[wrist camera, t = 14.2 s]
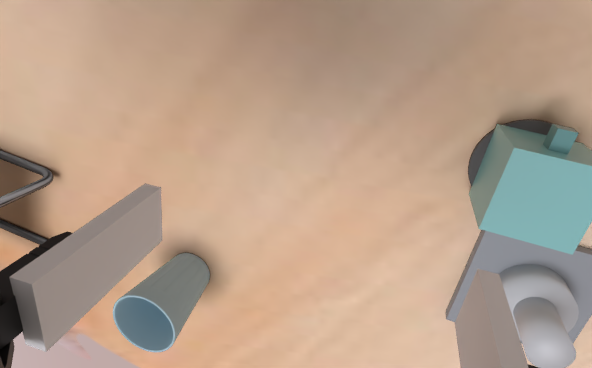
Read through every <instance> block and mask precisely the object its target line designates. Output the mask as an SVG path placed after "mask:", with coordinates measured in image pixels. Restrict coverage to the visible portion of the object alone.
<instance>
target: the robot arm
mask: <svg viewBox="0 0 592 368" xmlns="http://www.w3.org/2000/svg"><path fill="white" fill-rule="evenodd" d="M161 241H162V209H161V187H157V186H153V185H149V184H144V185H142V186H141V187H139V188H138V189H136V190H135V191H133V192H132V193H131V194H129V195H128V196H126V197H125V198H123V199H122V200H120V201H119V202H117V203H116V204H115V205H113V206H112V207H110V208H109V209H107V210H106V211H104V212H103V213H101V214H100V215H99V216H97V217H96V218H94V219H93V220H91V221H90V222H88V223H87V224H86V225H84V226H83V227H81V228H80V229H78V230H77V231H75V232H74V233H71V232H65V233H62V234H60V235H57V236H54V237H52V238H50V239H49V240H47V241H46V242H44V243H42V244H41V245H39V247H36V248H35V249H33V250H32V251H30V252H29V254H26V255H24V256H23V257H21V258H20V259H18V260H17V261H15V262H14V263H12V264H11V265H9V266H8V267H6V268H5V269H3V270H2V271H0V368H11V364H12V358H13V352H14V342H13V339H14V338H15V337H16V336H18V335H19V334H20V333H21V332H22V331H23V335H24V339H25V343H26V345H28V346H32V347H34V348H37V349H39V350H42V351H45V352H47V351H48V350H49V349H50V348H51V347H52V346H53V345H54V344H55V343H56V342H57V341H58V340H59V339H60V338H61V337H62V336H63V335H64V334H65V333H66V332H68V331H69V330H70V329H71V328H72V327H73V326H74V325H75V324H76V323H77V322H78V321H79V320H80V319H81V318H82V317H83V316H84V315H85V314H86V313H87V312H88V311H89V310H90V309H91V308H92V307H93V306H95V305H96V304H97V303H98V302H99V301H100V300H101V299H102V298H103V297H104V296H105V295H106V294H107V293H108V292H109V291H110V290H111V289H112V288H113V287H114V286H115V285H116V284H117V283H118V282H119V281H120V280H122V279H123V278H124V277H125V276H126V275H127V274H128V273H129V272H130V271H131V270H132V269H133V268H134V267H135V266H136V265H137V264H138V263H139V262H140V261H141V260H142V259H143V258H144V257H145V256H146V255H147V254H148V253H150V252H151V251H152V250H153V249H154V248H155V247H156V246H157V245H158V244H159V243H160V242H161ZM455 328H456V335H457V343H458V351H459V358H460V366H461V368H539V367H535V366H532V365H528V364H527V361H526V358H525V354H524V351H523V348H522V345H521V342H520V339H519V335H518V332H517V329H516V326H515V323H514V320H513V316H512V313H511V310H510V307H509V304H508V301H507V297H506V294H505V291H504V288H503V285H502V282H501V278H500V275H499V274H496V273H492V272H489V271H485V270H481V269H477V271H476V274H475V276H474V279H473V281H472V283H471V286H470V288H469V290H468V293H467V295H466V297H465V300H464V302H463V305H462V307H461V309H460V312H459V314H458V316H457V319H456V321H455Z"/></svg>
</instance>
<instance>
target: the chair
mask: <svg viewBox="0 0 592 368" xmlns="http://www.w3.org/2000/svg"><path fill="white" fill-rule="evenodd" d="M0 159H2V160H4V161H7V162H10V163H12V164H15V165H17V166H20V167H22V168H25V169H27V170H30V171H32V172H35V173H37V174H40V175H42V176H43V178H42V179H40V180H38V181H36V182H33V183H31V184H29V185H27V186H24V187H22V188H20V189H18V190H15V191H13V192H11V193H8V194H6V195H4V196H2V197H0V208H1V207H3V206H5V205H7V204H9V203H11V202H14V201H16V200H18V199H20V198H22V197H24V196H26V195H29V194H31V193H33V192H35V191H37V190H39V189H41V188H44V187H46V186H47V185H49V184H50V183H51V182H52V180H53V175H52V172H50V171H49V170H48V169H46V168H44V167H42V166H39V165H37V164H34V163H32V162H29V161H26V160H24V159H21V158H19V157H16V156H14V155H11V154H9V153H6V152H4V151H1V150H0ZM0 228H2V229H4V230H7V231H9V232H12V233H14V234H16V235H19V236H21V237H23V238H26V239H28V240H30V241H33V242H35V243H37V244H40V245H41V244H42V243H44V242H46V241H47V240H48V239H46V238H43V237H41V236H38V235H36V234H34V233H31V232H29V231H27V230H24V229H22V228H20V227H17V226H15V225H12V224H10V223H8V222H5V221H3V220H1V219H0Z"/></svg>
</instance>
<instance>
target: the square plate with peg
mask: <svg viewBox="0 0 592 368" xmlns="http://www.w3.org/2000/svg"><path fill="white" fill-rule="evenodd" d="M477 269H481V270H485V271H489V272H492V273H496V274H499V275H500V278H501V282H502V285H503V288H504V291H505V294H506V297H507V301H508V304H509V307H510V310H511V313H512V316H513V320H514V323H515V326H516V329H517V332H518V335H519V339H520V342H521V343H522V344H523V347H524V350H525V353H526V356H527V358H528V360H529V361H530V362H531V363H532V364H533V365H535V366H537V367H539V368H566V367H567V366H569V365H571V364H572V363H573V361H574V360H575V358H576V350H575V348H574V346H573V343H574V341H575V340H576V338H577V337H578V335H579V333H580V332H581V330H582V329H583V327H584V326H585V324H586V323H587V321H588V320H589V318H590V317H591V315H592V249H588V248H585V247H581V246H577V248H576V250H575V251H574V253H573V255H572V254H568V253H564V252H561V251H557V250H554V249H550V248H546V247H543V246H539V245H536V244H532V243H528V242H525V241H521V240H518V239H514V238H510V237H507V236H503V235H499V234H496V233H492V232H489V231H485V230H481V233H480V235H479V237H478V240H477V242H476V244H475V246H474V249H473V251H472V253H471V255H470V258H469V260H468V262H467V265H466V267H465V269H464V271H463V274H462V276H461V278H460V280H459V283H458V285H457V287H456V290H455V292H454V294H453V296H452V299H451V301H450V303H449V306H448V308H447V310H446V319H447V320H450V321H453V322H455V321H456V319H457V316H458V314H459V312H460V309H461V307H462V305H463V302H464V300H465V297H466V295H467V293H468V290H469V288H470V286H471V283H472V281H473V279H474V276H475V274H476V271H477Z"/></svg>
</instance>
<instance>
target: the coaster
mask: <svg viewBox="0 0 592 368" xmlns="http://www.w3.org/2000/svg"><path fill="white" fill-rule="evenodd" d="M504 126H509V127H513V128H517V129H522V130H526V131H530V132H535V133H539V134H543V135H547V134H548V132H549V130H550V128H551V126H552V124H551V123H548V122H545V121H540V120H518V121H513V122H510V123H506V124H504ZM494 130H495V129H494ZM494 130H492V131H491V132H489V133H488V134H487V135H486V136H485V137H484V138H482V139H481V141H480V142H479V143H478V144H477V146H476V147H475V149H474V150H473V153H472V155H471V157H470V161H469V166H468V174H469V180H470V183H471V186H472V185H473V182H474V180H475V177H476V175H477V172H478V170H479V167H480V165H481V162H482V160H483V158H484V155H485V153H486V150H487V148H488V145H489V143H490V140H491V138H492V135H493V133H494ZM574 142H575V141H574Z"/></svg>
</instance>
